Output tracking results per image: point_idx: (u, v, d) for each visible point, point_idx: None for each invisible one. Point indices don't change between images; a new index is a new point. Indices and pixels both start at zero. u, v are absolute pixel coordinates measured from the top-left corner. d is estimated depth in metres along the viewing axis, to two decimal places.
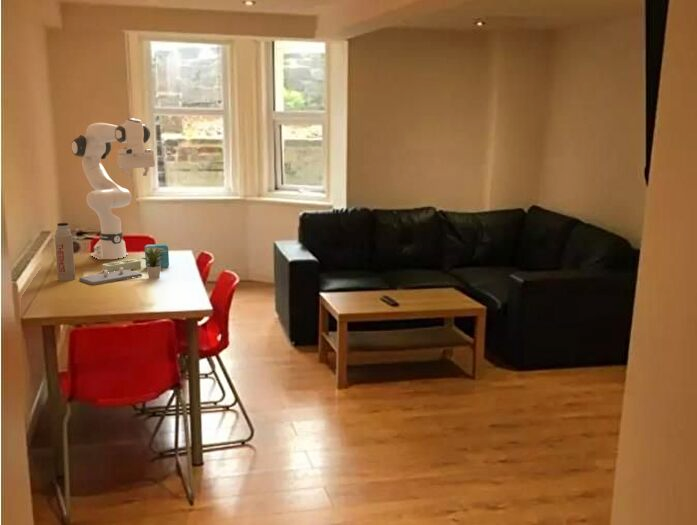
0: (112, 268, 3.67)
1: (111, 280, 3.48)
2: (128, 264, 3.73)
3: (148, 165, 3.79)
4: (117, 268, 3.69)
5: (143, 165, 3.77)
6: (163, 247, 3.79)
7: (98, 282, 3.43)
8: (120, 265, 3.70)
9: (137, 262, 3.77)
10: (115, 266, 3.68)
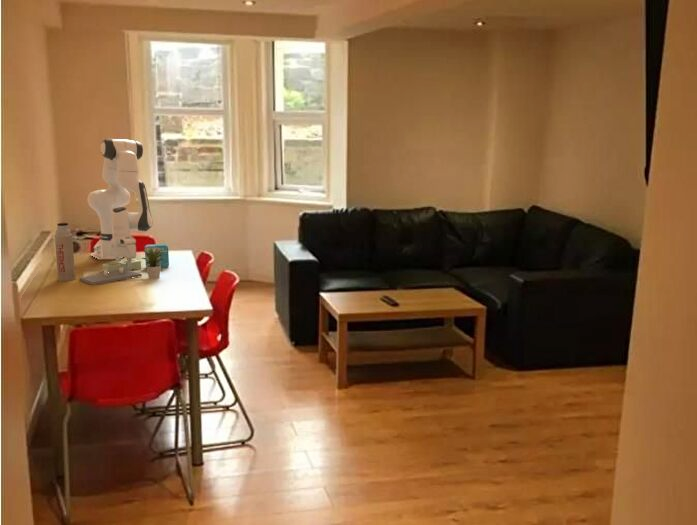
0: (112, 268, 3.67)
1: (111, 280, 3.48)
2: None
3: None
4: (117, 268, 3.69)
5: None
6: (163, 247, 3.79)
7: (98, 282, 3.43)
8: (120, 265, 3.70)
9: (137, 262, 3.77)
10: (115, 266, 3.68)
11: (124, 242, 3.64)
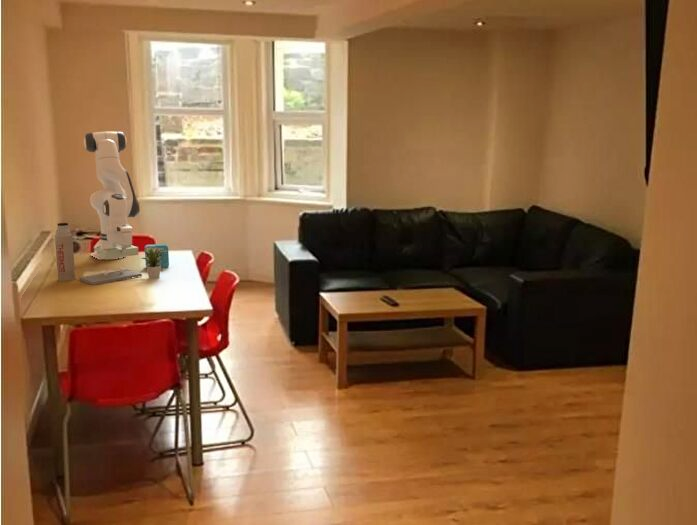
0: (109, 254, 3.66)
1: (111, 280, 3.48)
2: (125, 250, 3.72)
3: None
4: (114, 254, 3.68)
5: None
6: (163, 247, 3.79)
7: (98, 282, 3.43)
8: (117, 251, 3.69)
9: (135, 249, 3.76)
10: (112, 252, 3.67)
11: (120, 230, 3.63)
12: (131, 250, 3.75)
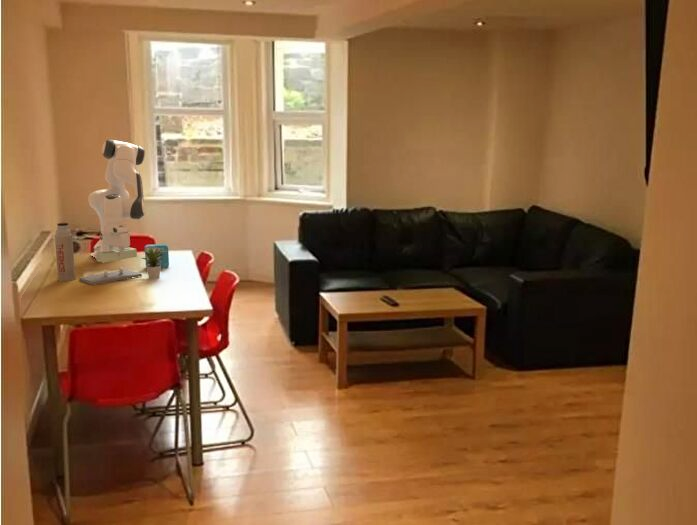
0: (107, 257, 3.48)
1: (111, 280, 3.48)
2: (123, 252, 3.54)
3: None
4: (112, 257, 3.50)
5: None
6: (163, 247, 3.79)
7: (98, 282, 3.43)
8: (115, 254, 3.51)
9: (133, 250, 3.58)
10: (110, 255, 3.49)
11: (117, 231, 3.45)
12: (129, 252, 3.57)
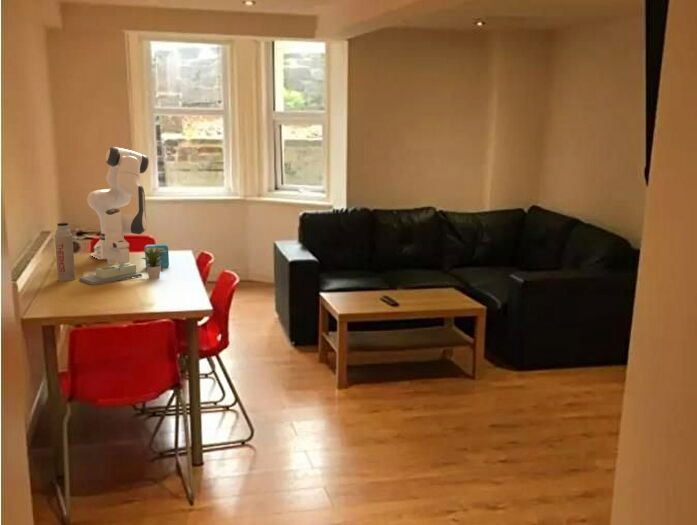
0: (106, 273, 3.50)
1: (111, 280, 3.48)
2: (123, 268, 3.56)
3: None
4: (111, 273, 3.52)
5: None
6: (163, 247, 3.79)
7: (98, 282, 3.43)
8: (115, 269, 3.53)
9: (132, 266, 3.60)
10: (109, 270, 3.51)
11: (117, 246, 3.46)
12: (129, 268, 3.58)
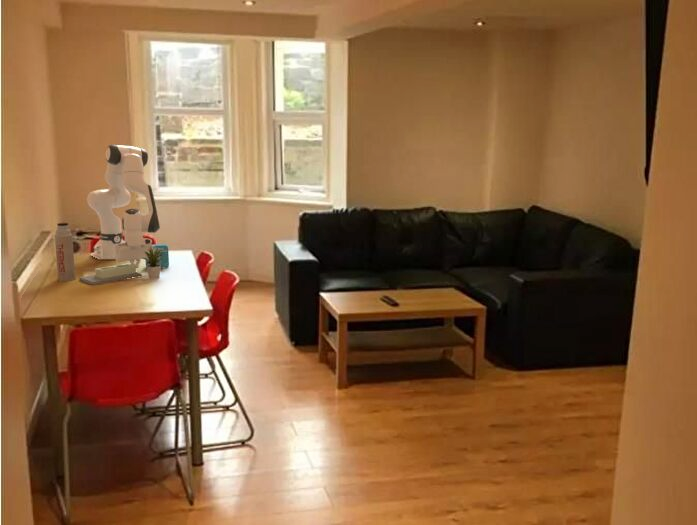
0: (105, 273, 3.49)
1: (111, 280, 3.48)
2: (122, 268, 3.56)
3: None
4: (111, 273, 3.51)
5: None
6: (163, 247, 3.79)
7: (98, 282, 3.43)
8: (114, 269, 3.52)
9: (132, 266, 3.59)
10: (109, 271, 3.50)
11: (150, 241, 3.65)
12: (128, 268, 3.58)
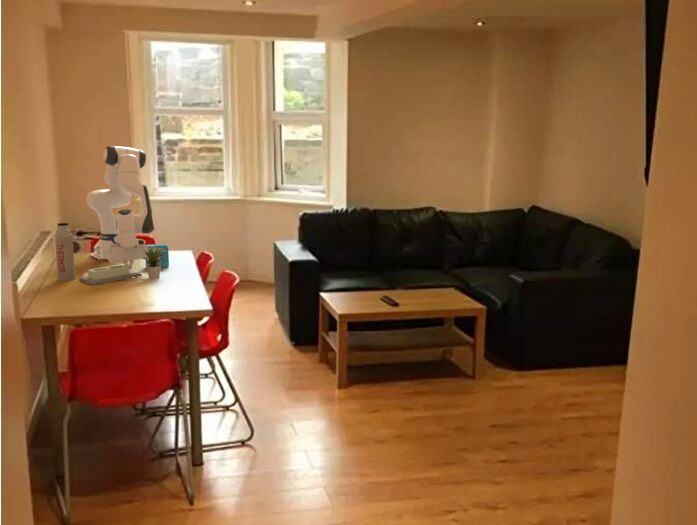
0: (99, 274, 3.46)
1: (111, 280, 3.48)
2: (116, 270, 3.53)
3: None
4: (104, 274, 3.49)
5: None
6: (163, 247, 3.79)
7: (98, 282, 3.43)
8: (107, 271, 3.50)
9: (125, 267, 3.57)
10: (102, 272, 3.48)
11: (144, 242, 3.62)
12: (122, 269, 3.55)
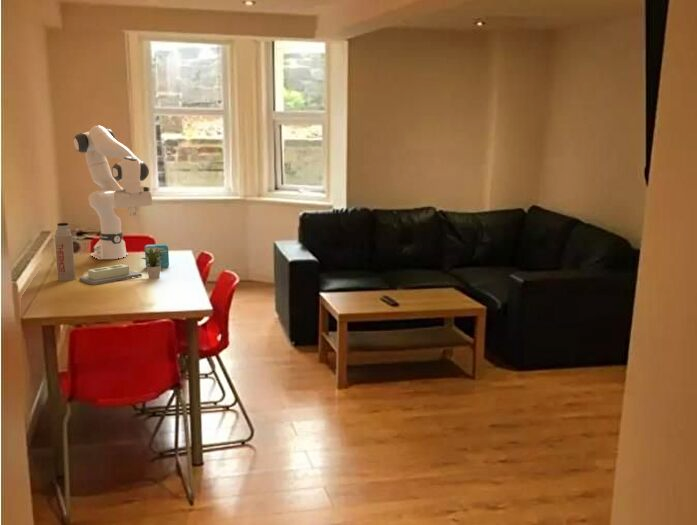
0: (99, 274, 3.46)
1: (111, 280, 3.48)
2: (116, 270, 3.53)
3: None
4: (104, 274, 3.49)
5: None
6: (163, 247, 3.79)
7: (98, 282, 3.43)
8: (107, 271, 3.50)
9: (125, 267, 3.57)
10: (102, 272, 3.48)
11: (149, 189, 3.67)
12: (122, 269, 3.55)
